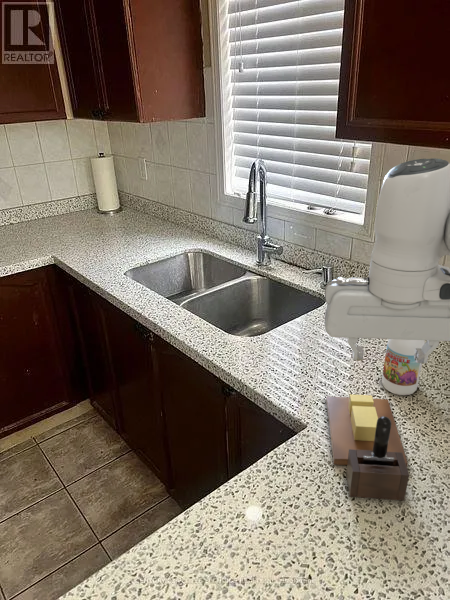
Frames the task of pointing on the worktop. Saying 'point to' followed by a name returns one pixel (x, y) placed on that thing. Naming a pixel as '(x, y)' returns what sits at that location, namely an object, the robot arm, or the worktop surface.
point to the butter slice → (360, 401)
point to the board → (344, 434)
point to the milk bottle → (401, 366)
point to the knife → (380, 444)
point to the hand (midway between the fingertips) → (388, 359)
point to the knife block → (376, 477)
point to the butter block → (364, 422)
